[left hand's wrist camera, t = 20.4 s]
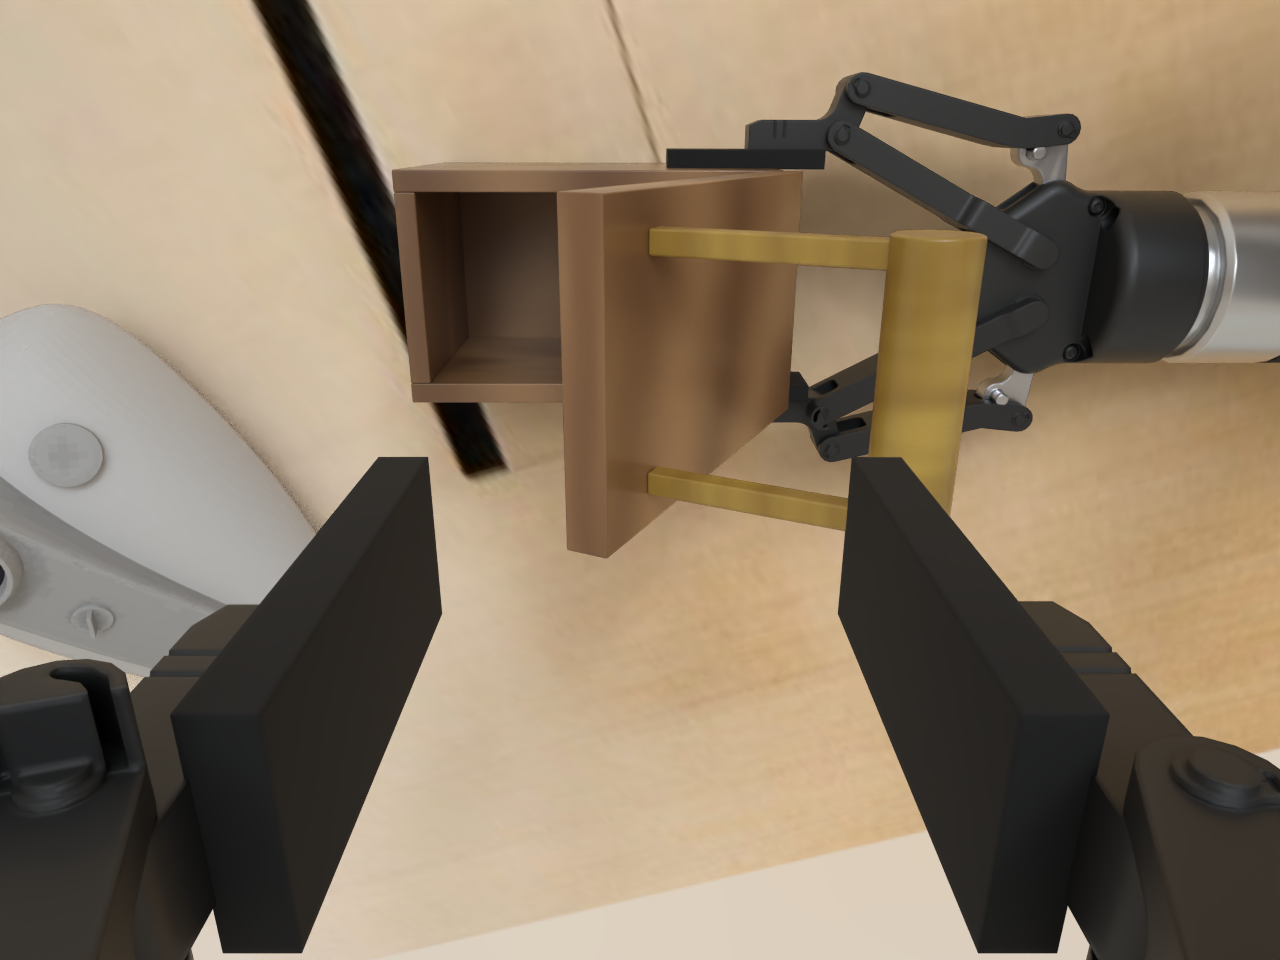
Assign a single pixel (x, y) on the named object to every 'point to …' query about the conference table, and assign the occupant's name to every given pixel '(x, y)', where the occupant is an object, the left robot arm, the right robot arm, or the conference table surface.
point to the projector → (123, 496)
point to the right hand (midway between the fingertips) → (665, 277)
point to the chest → (493, 272)
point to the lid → (736, 346)
